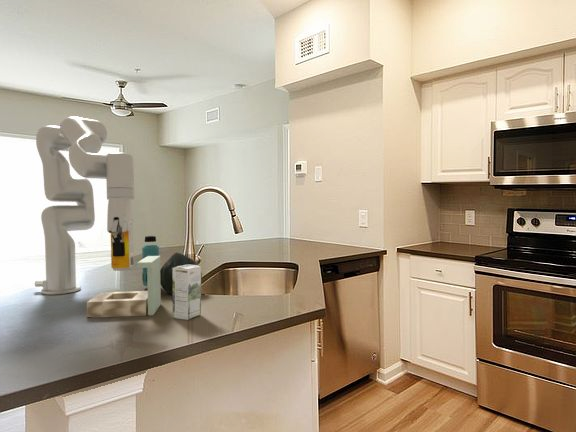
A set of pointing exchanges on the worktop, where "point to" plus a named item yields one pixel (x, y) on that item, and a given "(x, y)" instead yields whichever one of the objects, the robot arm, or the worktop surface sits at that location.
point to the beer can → (125, 261)
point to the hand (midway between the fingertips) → (122, 254)
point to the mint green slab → (152, 281)
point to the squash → (167, 270)
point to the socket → (118, 304)
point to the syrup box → (186, 291)
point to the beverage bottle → (149, 254)
